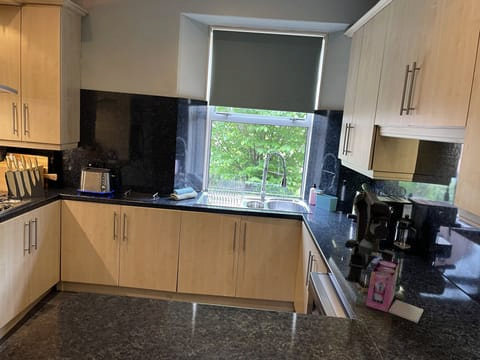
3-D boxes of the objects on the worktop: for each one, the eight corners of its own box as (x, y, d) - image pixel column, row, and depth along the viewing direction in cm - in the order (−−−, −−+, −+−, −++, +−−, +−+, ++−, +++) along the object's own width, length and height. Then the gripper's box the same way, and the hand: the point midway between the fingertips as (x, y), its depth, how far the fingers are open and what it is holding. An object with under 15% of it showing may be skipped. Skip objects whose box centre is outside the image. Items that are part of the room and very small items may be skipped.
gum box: (387, 314, 131) (392, 277, 130) (364, 307, 135) (369, 271, 134) (394, 294, 152) (399, 262, 151) (375, 288, 156) (379, 258, 155)
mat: (396, 301, 146) (396, 299, 146) (423, 311, 141) (423, 309, 141) (388, 311, 135) (388, 310, 134) (417, 323, 129) (417, 321, 129)
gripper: (344, 228, 145) (336, 266, 147) (393, 243, 134) (384, 282, 136) (352, 225, 154) (345, 260, 156) (399, 238, 144) (390, 276, 145)
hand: (365, 269), depth 148 cm, fingers closed
